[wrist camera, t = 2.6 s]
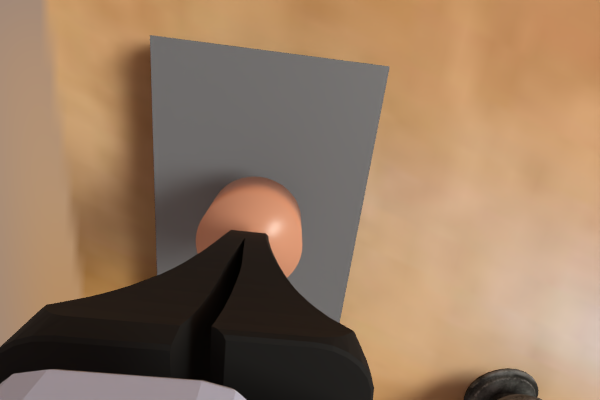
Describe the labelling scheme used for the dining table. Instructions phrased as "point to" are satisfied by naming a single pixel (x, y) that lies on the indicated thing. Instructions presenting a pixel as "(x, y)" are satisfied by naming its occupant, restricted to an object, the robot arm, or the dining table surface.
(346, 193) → the control board
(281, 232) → the knob
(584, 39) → the dining table surface
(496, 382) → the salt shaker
